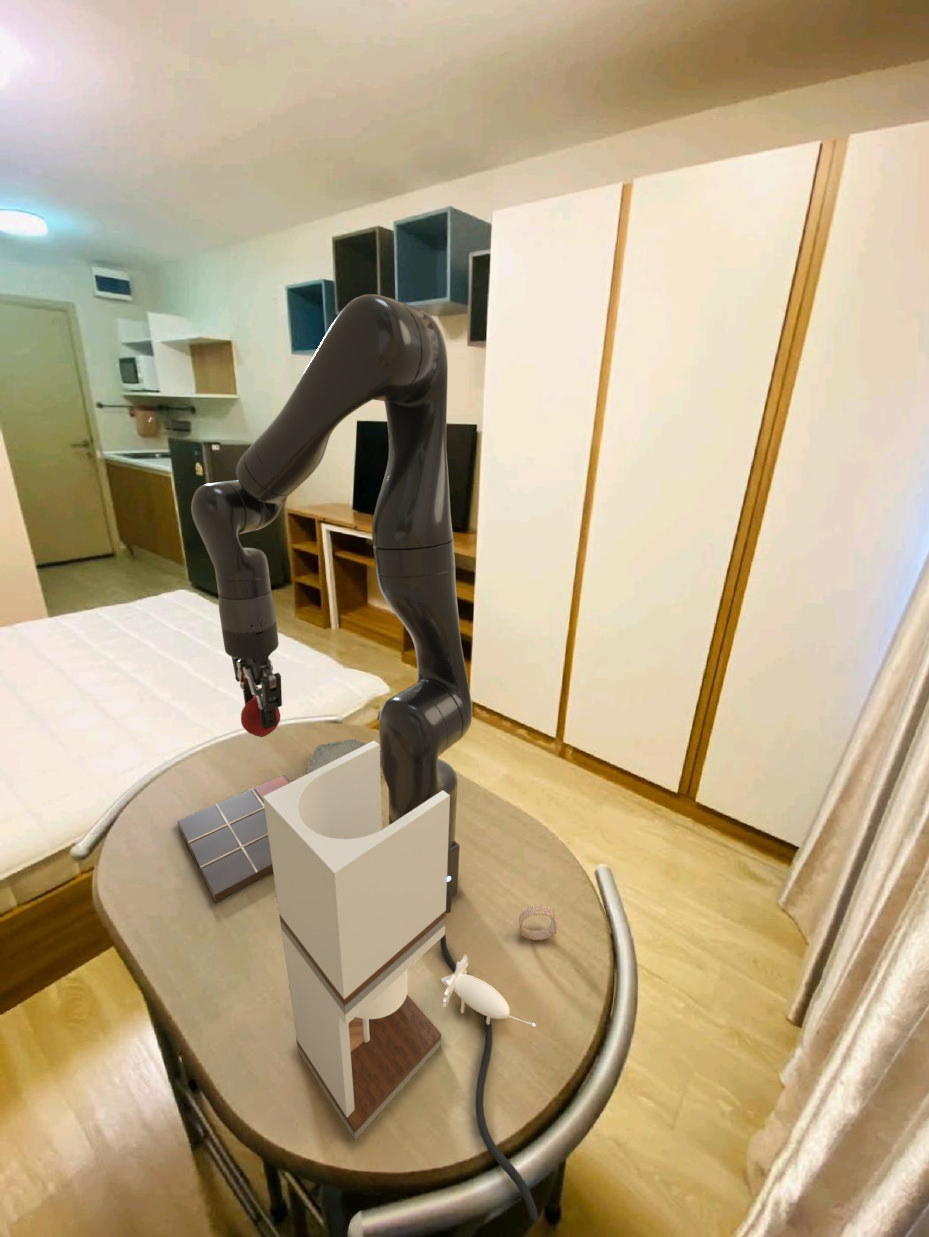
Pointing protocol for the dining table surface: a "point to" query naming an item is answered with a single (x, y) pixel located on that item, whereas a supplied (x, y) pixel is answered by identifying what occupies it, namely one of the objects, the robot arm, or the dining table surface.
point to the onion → (255, 719)
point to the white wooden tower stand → (357, 927)
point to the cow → (476, 994)
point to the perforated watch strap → (541, 934)
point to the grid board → (232, 840)
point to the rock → (332, 753)
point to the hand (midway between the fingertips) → (261, 716)
